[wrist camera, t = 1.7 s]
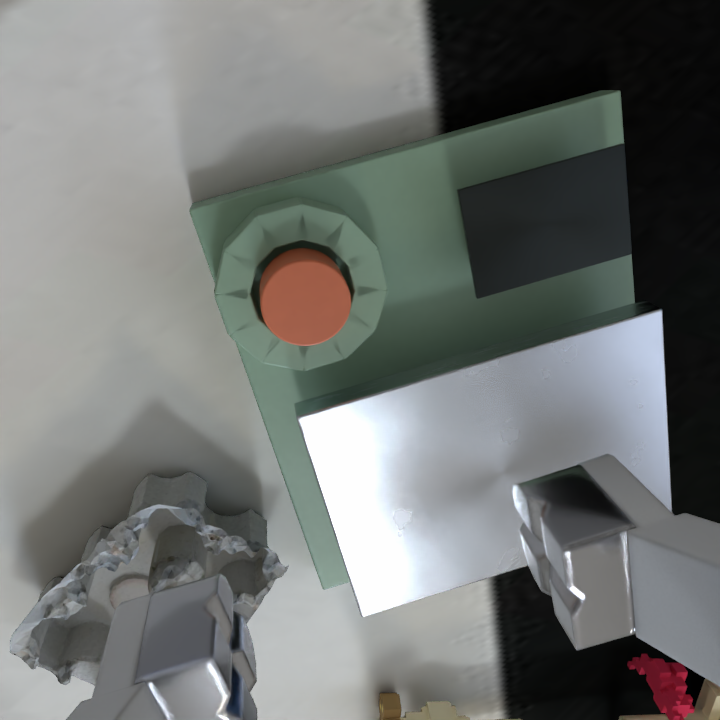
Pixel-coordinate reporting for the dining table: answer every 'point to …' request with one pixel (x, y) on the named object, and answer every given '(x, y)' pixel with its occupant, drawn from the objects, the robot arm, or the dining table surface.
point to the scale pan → (495, 399)
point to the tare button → (304, 297)
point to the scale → (394, 271)
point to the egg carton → (144, 572)
